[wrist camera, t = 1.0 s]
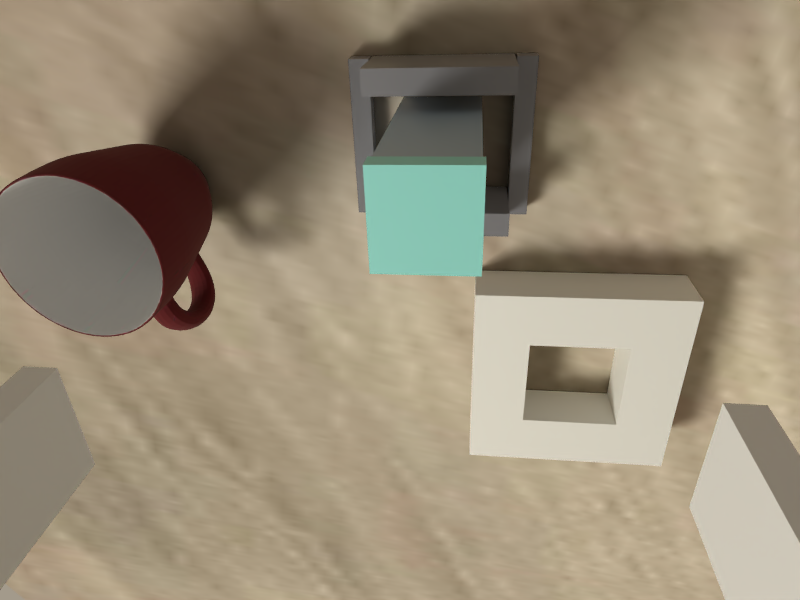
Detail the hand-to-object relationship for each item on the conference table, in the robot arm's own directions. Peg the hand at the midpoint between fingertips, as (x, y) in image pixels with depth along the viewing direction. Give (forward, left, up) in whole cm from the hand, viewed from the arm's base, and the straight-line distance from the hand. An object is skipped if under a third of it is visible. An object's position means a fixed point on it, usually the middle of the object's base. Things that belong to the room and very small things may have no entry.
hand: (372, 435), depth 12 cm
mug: (+4, -15, -23) cm, 27 cm away
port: (+14, +8, -23) cm, 28 cm away
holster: (0, 0, -23) cm, 23 cm away
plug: (0, 0, -23) cm, 23 cm away
